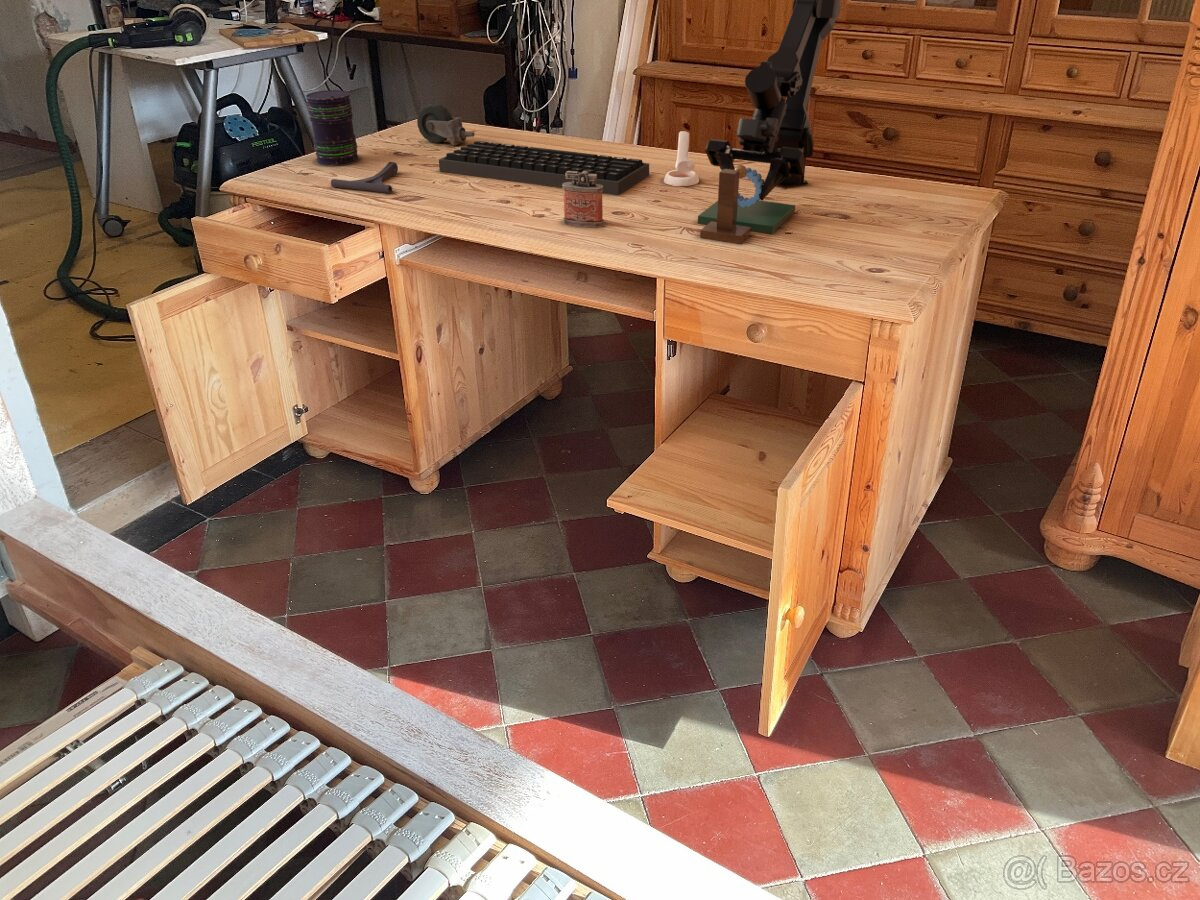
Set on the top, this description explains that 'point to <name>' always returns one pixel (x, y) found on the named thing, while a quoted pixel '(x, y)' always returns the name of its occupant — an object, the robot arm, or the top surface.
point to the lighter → (582, 200)
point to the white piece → (682, 165)
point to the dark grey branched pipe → (370, 181)
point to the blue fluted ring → (758, 185)
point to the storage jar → (332, 127)
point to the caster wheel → (441, 125)
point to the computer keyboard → (542, 165)
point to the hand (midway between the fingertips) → (742, 196)
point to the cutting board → (754, 215)
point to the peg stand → (727, 209)
